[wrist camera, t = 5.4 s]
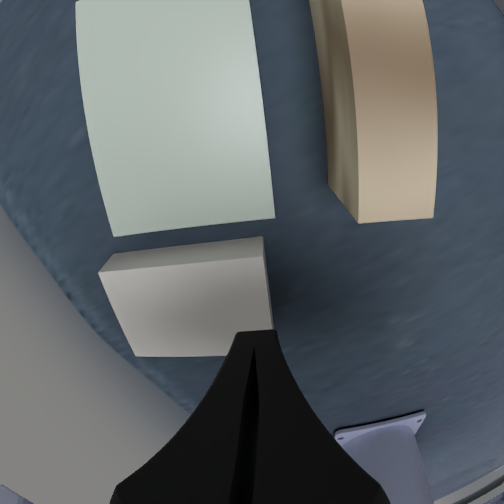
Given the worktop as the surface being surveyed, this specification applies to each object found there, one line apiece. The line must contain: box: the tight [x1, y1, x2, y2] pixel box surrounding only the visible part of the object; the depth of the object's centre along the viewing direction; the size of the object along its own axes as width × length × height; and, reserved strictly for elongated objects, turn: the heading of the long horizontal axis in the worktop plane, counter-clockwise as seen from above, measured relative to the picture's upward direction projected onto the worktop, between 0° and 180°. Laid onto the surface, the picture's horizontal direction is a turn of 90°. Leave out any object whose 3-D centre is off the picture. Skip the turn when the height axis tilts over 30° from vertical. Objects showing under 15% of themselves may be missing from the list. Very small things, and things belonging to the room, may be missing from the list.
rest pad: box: [76, 0, 275, 237], centre depth 10 cm, size 11×7×1 cm, turn 7°
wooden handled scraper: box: [309, 0, 438, 223], centre depth 7 cm, size 14×4×4 cm, turn 7°
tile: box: [98, 236, 274, 357], centre depth 13 cm, size 5×2×7 cm
